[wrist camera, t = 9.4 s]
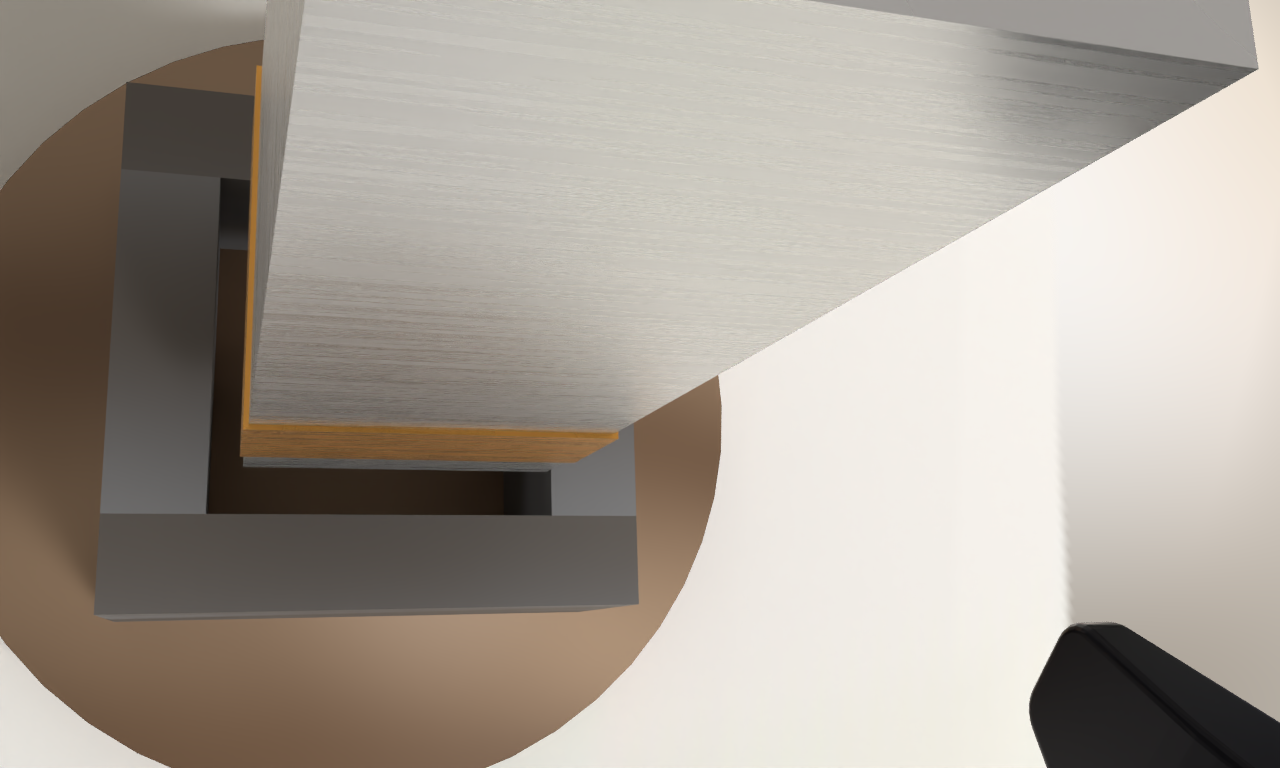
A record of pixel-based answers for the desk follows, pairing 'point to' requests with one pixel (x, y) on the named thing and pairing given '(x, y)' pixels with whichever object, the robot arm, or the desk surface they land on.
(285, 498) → the stand base
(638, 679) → the desk surface
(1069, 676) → the robot arm
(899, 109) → the post
